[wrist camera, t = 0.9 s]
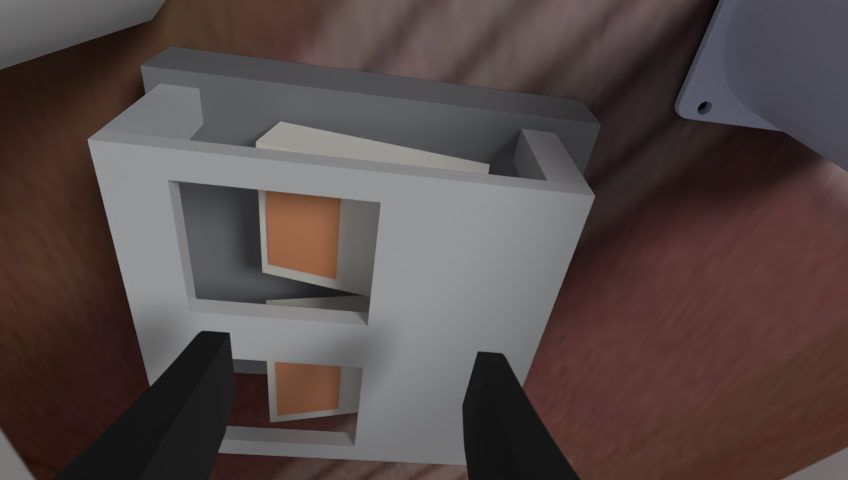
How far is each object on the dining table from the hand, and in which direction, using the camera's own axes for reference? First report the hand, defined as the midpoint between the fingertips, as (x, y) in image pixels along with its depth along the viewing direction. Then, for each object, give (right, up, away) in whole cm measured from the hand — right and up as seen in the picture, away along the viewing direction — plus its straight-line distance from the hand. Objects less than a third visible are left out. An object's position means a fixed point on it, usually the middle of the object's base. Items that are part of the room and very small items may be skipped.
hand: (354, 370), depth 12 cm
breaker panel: (-1, +3, +10) cm, 11 cm away
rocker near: (0, +4, +5) cm, 6 cm away
